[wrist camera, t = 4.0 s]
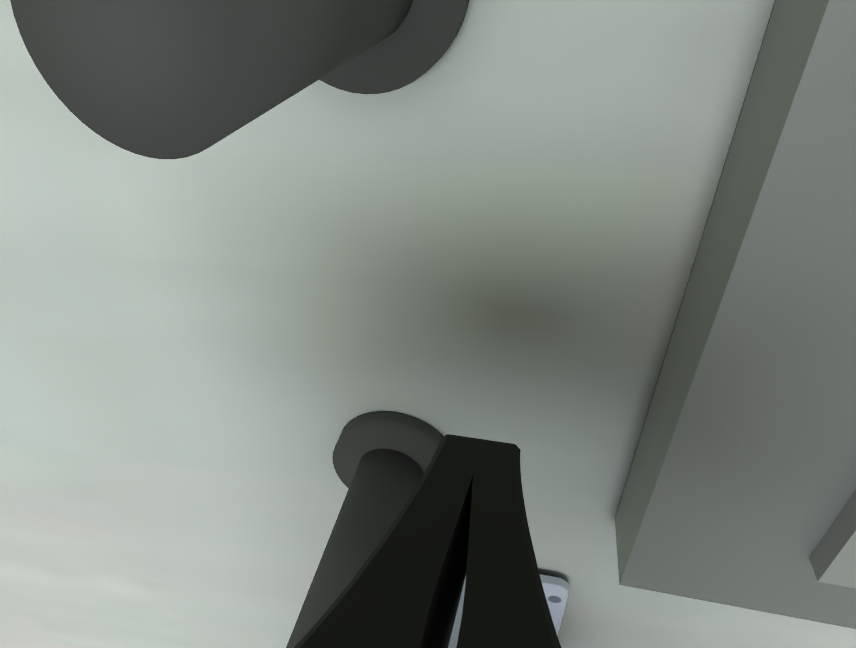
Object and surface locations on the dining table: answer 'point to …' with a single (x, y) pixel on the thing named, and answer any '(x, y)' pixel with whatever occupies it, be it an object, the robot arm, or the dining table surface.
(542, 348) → the dining table surface
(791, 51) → the breaker panel
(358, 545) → the gray flanged cylinder
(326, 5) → the dark flanged peg
